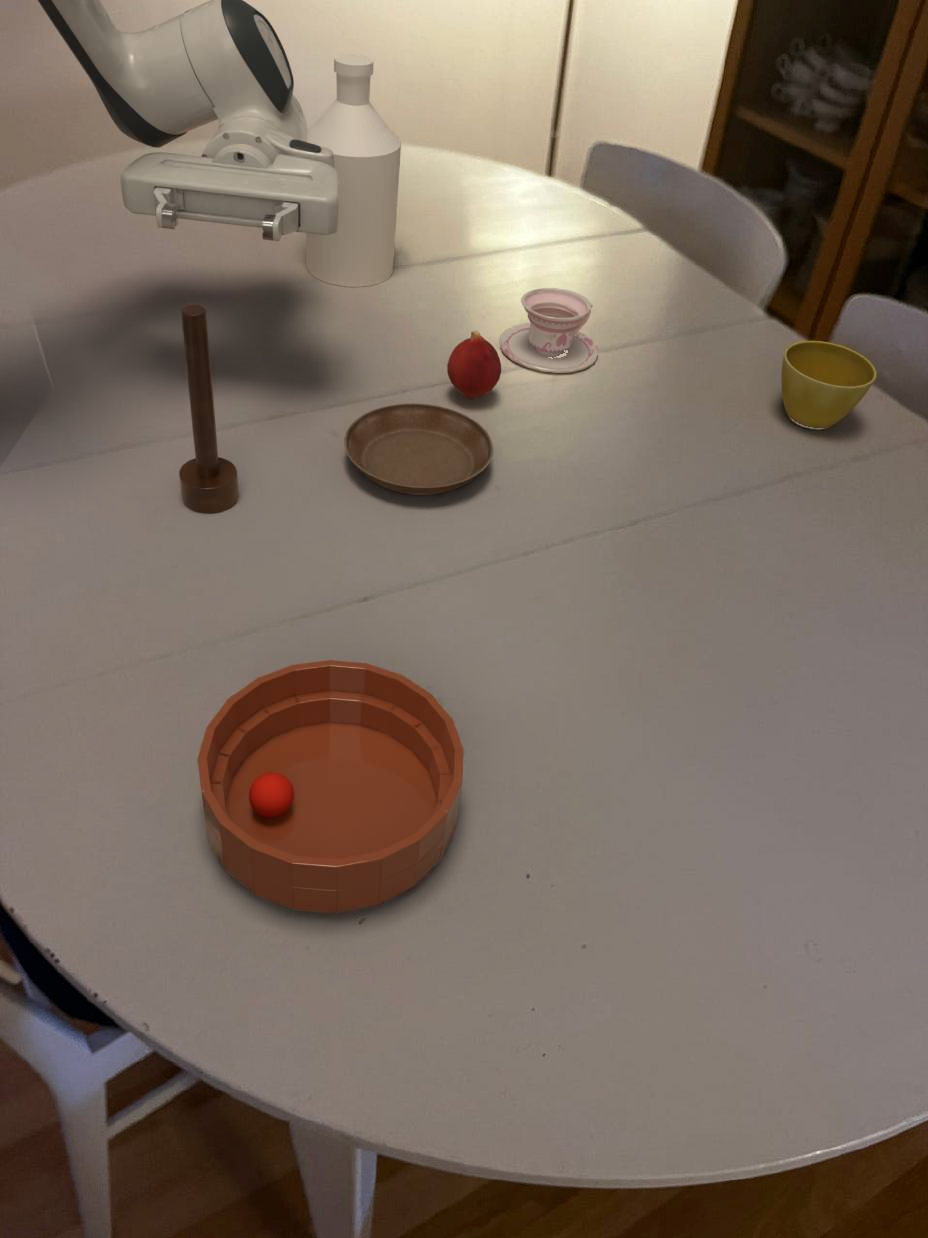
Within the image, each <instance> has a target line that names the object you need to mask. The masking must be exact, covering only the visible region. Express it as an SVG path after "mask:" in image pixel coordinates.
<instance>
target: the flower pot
mask: <svg viewBox="0 0 928 1238" xmlns="http://www.w3.org/2000/svg"><path fill="white" fill-rule="evenodd" d="M780 377H781V380H780V381H781V383H780V384H781V385H780V386H781V395H782V400H783V401H782V402H783V405H784V409H785V412H786V415H787V414H788V415H787V417H788V416H789V417H790V418H791V419H793V420H794V421H795V422H798V423H799V424H802V425H804V426H808V427H813V428H827V427H829V428H830V427H832V426H834V425H835V424H837V423H838V422H840V421H841V420H842V419H844V417H846V416H847V415H848V414H849V413H850V412H851V411H853V409H854V408H856V406H857V405H858V404H859V403H860V402H861V401H862V399H863V398H864V397H865V395H866V394H867V393H868V391H869V390H870V389H871V387H872V385H873V384H874V382H875V381H876V378H877V370H876V368H875V366H874V365H873V363H872V362H871V361H870V360H869V359H868V358H866V357H865V356H864V355H862V354H861V353H859V352H858V351H855V350H853V349H851V348H849V347H847V346H844V345H840V344H837V343H833V342H828V341H823V340H803V341H798V342H795V343H791V344H790V345H789V346H787V347H786V348H785V350H784V353H783V359H782V365H781V375H780ZM789 417H788V418H789ZM827 429H828V428H827Z"/></svg>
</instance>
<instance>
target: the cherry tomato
mask: <svg viewBox="0 0 928 1238" xmlns="http://www.w3.org/2000/svg"><path fill="white" fill-rule="evenodd" d="M293 799H294V789H293V786H292V784H291V782H290V781H289V779H288V778H287V777H285V776H284V775H282V774H280V773H275V772H269V773H265V774H262V775H260V776H259V777H258V778H256V779H255V781H254V782H253V783H252V785H251V787H250V790H249V800H250V804H251V806H252V808H253V809H254V810H255V811H256V812H257V813H258V814H260V815H262V816H265V817H277V816H280V815H282V814H283V813H285V812H286V811H287V810H288V809H289V808H290V806H291V805H292V803H293Z"/></svg>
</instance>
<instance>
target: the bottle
mask: <svg viewBox="0 0 928 1238" xmlns="http://www.w3.org/2000/svg"><path fill="white" fill-rule="evenodd" d="M333 71H334V73H335V74H336V99H335V100H334V101H333V103H331V104H330V106H328V108H327V109H326V110H325V112H323V114H322V115H321V116H320V117H319V118H318V119H317V120H316V121H314V123H313V124H311V126H309V128H307V143H311V144H315V145H318V146H321V147H325V148H328V149H330V150H331V151H332V152H333V157H334V167H335V170H336V171H337V173H338V176H339V227H338V230H337V232H336V233H333V234H329V235H320V234H312V233H305V250H306V251H305V253H306V254H305V255H306V270H307V272H308V273H309V274H310V275H311V276H313V277H314V278H315V279H317V280H318V281H319V280H320V281H322V282H324V283H326V284H330V285H335V286H339V287H340V286H341V287H348V288H361V287H362V288H364V287H371V286H376V285H378V284H382V283H384V282H385V281H388V279H390V278H391V276H392V275H393V272H394V260H395V258H394V257H395V242H396V228H397V214H398V199H399V183H400V166H401V154H402V153H401V152H402V142H401V139H400V138H399V136H398V135H397V134H396V133H395V132H394V131H393V130H392V129H391V127H390V126H389V125H388V124H387V123H386V121H384V119H383V118H382V116H381V115H380V114H379V112H378V111H377V110H376V108H375V107H374V106H373V104H372V103H371V102H370V93H371V76H372V75H373V74H374V59H372V58H371V57H370V56H367V55H363V54H357V53H341V54H337V55H335V56H334V57H333Z"/></svg>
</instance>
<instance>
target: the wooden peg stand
mask: <svg viewBox="0 0 928 1238" xmlns="http://www.w3.org/2000/svg"><path fill="white" fill-rule="evenodd" d="M180 317H181V327H182V328H181V329H182V337H183V346H184V356H185V357H184V358H185V367H186V375H187V376H186V377H187V386H188V395H189V406H190V415H191V416H190V417H191V426H192V427H191V428H192V436H193V446H194V456H195V458H191V459H190V460H188V461H186V462H185V463H184V464H182V466H181V467H180V469H179V472H178V476H179V485H180V493H181V500H182V503H183V505H185V507H186V508H188V509H190V510H192V511H194V512H197V513H203V514H216V513H221V512H224V511H227V510H229V509H230V508H232V507H233V506H235V505H236V504H237V502H238V500H239V495H240V494H239V480H238V470H237V467H236V465H235V464H234V463H233V462H231V461H230V460H228V459H226V458H223V457H219V451H218V440H217V426H216V416H215V401H214V390H213V378H212V365H211V355H210V342H209V331H208V317H207V309H206V308H205V306H203V305H201V304H195V303H194V304H192V303H190V304H185V305H183V306H182V307H181V308H180Z"/></svg>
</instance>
